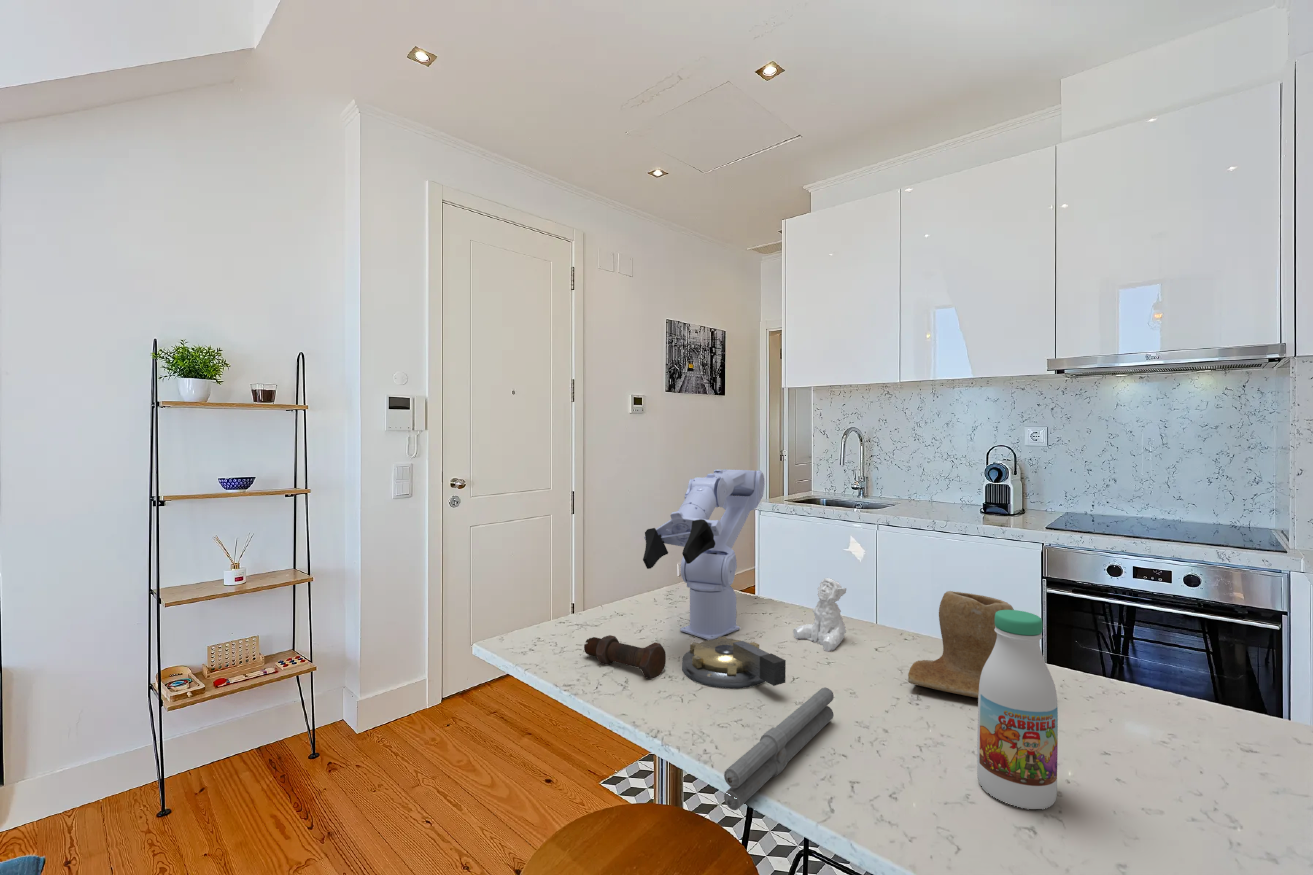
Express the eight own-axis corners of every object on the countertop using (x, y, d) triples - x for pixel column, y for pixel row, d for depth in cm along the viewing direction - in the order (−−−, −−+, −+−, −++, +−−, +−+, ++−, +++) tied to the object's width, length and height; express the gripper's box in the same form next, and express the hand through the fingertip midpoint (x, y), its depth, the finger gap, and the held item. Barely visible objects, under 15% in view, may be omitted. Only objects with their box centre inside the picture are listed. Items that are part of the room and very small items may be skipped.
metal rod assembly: (817, 718, 85) (817, 683, 85) (836, 724, 83) (836, 688, 83) (718, 809, 65) (718, 763, 65) (740, 820, 63) (740, 772, 63)
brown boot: (1018, 684, 96) (1019, 590, 96) (1022, 716, 85) (1023, 611, 85) (914, 666, 103) (915, 578, 103) (906, 693, 93) (908, 596, 92)
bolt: (592, 665, 108) (660, 683, 99) (575, 658, 105) (644, 677, 96) (602, 632, 111) (669, 647, 102) (585, 625, 107) (654, 640, 98)
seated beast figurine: (790, 637, 117) (790, 575, 117) (821, 629, 122) (821, 570, 121) (828, 653, 109) (829, 586, 109) (860, 643, 114) (860, 580, 113)
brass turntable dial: (675, 654, 103) (675, 631, 103) (735, 641, 110) (735, 619, 110) (745, 698, 87) (745, 670, 87) (811, 678, 94) (811, 653, 94)
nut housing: (719, 645, 112) (719, 637, 112) (789, 668, 102) (789, 659, 102) (663, 669, 102) (663, 659, 102) (735, 697, 91) (735, 686, 91)
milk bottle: (962, 772, 72) (965, 605, 71) (1024, 769, 72) (1026, 603, 72) (1005, 814, 64) (1008, 627, 63) (1074, 810, 65) (1077, 625, 64)
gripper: (650, 505, 114) (620, 546, 102) (719, 491, 106) (695, 535, 95) (664, 536, 116) (637, 580, 104) (733, 525, 108) (711, 571, 97)
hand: (666, 561), depth 100 cm, fingers open, 7 cm apart
